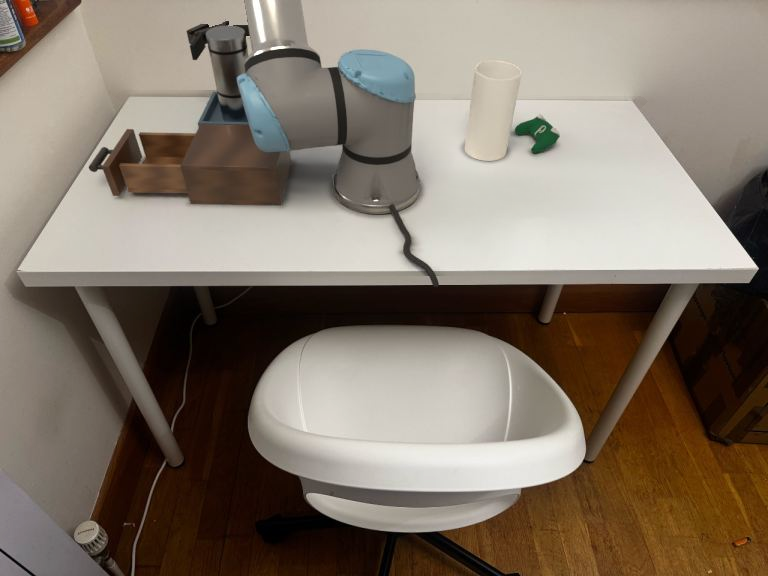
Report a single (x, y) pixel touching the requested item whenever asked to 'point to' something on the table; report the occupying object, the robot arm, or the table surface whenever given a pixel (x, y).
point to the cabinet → (233, 168)
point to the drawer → (145, 163)
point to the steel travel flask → (228, 68)
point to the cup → (492, 109)
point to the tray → (215, 113)
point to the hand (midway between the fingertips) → (228, 54)
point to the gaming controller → (539, 132)
